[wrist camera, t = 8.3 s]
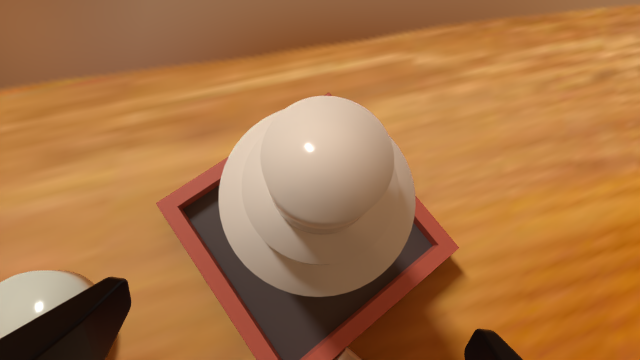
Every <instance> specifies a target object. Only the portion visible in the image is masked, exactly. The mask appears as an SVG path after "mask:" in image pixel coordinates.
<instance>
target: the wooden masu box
mask: <svg viewBox="0 0 640 360" xmlns="http://www.w3.org/2000/svg"><path fill="white" fill-rule="evenodd" d="M332 360H362V359H361V358H360V357H359V356H357V355H356V354H355V353H354V352H353V351H352V350H350V349H349V348H348V347H346V348H345V349H344V350H342V351H341V352H340V353H339V354H338V355H337V356H336V357H334V358H333V359H332Z"/></svg>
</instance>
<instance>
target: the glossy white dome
mask: <svg viewBox="0 0 640 360" xmlns="http://www.w3.org/2000/svg"><path fill="white" fill-rule="evenodd" d="M93 285H94V284H93V283H92V282H91V281H90V280H89V279H87V278H86V277H84V276H82V275H80V274H77V273H74V272H70V271H62V270H52V271H30V272H25V273H21V274H18V275H15V276H12V277H10V278H8V279H6V280H4V281H2V282H0V338H2V337H4V336H5V335H7V334H9V333H11V332H12V331H14V330H16V329H18V328H19V327H21V326H23V325H25V324H26V323H28V322H30V321H32V320H33V319H35V318H37V317H39V316H40V315H42V314H44V313H46V312H47V311H49V310H51V309H53V308H54V307H56V306H58V305H60V304H61V303H63V302H65V301H67V300H68V299H70V298H72V297H74V296H75V295H77V294H79V293H81V292H82V291H84V290H86V289H88V288H89V287H91V286H93Z"/></svg>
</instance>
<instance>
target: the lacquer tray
mask: <svg viewBox="0 0 640 360" xmlns="http://www.w3.org/2000/svg"><path fill="white" fill-rule="evenodd" d="M324 96H332V95H331V94H330V93H327V94H326V95H324ZM227 159H228V157H227V158H226V159H224V160H223V161H221V162H220V163H218V164H216V165H215V166H213V167H212V168H210V169H209V170H207V171H206V172H204V173H202V174H201V175H199V176H198V177H196V178H195V179H193V180H191V181H190V182H188V183H187V184H185V185H184V186H182V187H181V188H179V189H177V190H176V191H174V192H173V193H171V194H170V195H168V196H166V197H165V198H163V199H162V200H160V201H159V202H157V203H156V204H157V206H158V207H159V209H160V211H161V212H162V214H163V215H164V217H165V218H166V220H167V221H168V223H169V225H170V226H171V228H172V229H173V231H174V232H175V234H176V235H177V237H178V239H179V240H180V242H181V243H182V245H183V246H184V248H185V249H186V251H187V252H188V254H189V256H190V257H191V259H192V260H193V262H194V263H195V265H196V266H197V268H198V270H199V271H200V273H201V274H202V276H203V277H204V279H205V280H206V282H207V284H208V285H209V287H210V288H211V290H212V291H213V293H214V294H215V296H216V297H217V299H218V301H219V302H220V304H221V305H222V307H223V308H224V310H225V311H226V313H227V315H228V316H229V318H230V319H231V321H232V322H233V324H234V325H235V327H236V329H237V330H238V332H239V333H240V335H241V336H242V338H243V339H244V341H245V342H246V344H247V346H248V347H249V349H250V350H251V352H252V353H253V355H254V356H255V358H256V360H332V359H333V358H334V357H336V356H337V355H338V354H339V353H340V352H341V351H342V350H344V349H345V348H346V347H347V346H348V345H349V344H350V343H351V342H353V341H354V340H355V339H356V338H357V337H358V336H359V335H361V334H362V333H363V332H364V331H365V330H366V329H367V328H369V327H370V326H371V325H372V324H373V323H374V322H375V321H376V320H378V319H379V318H380V317H381V316H382V315H383V314H384V313H386V312H387V311H388V310H389V309H390V308H391V307H392V306H394V305H395V304H396V303H397V302H398V301H399V300H400V299H402V298H403V297H404V296H405V295H406V294H407V293H408V292H409V291H411V290H412V289H413V288H414V287H415V286H416V285H417V284H419V283H420V282H421V281H422V280H423V279H424V278H425V277H427V276H428V275H429V274H430V273H431V272H432V271H433V270H435V269H436V268H437V267H438V266H439V265H440V264H441V263H442V262H444V261H445V260H446V259H447V258H448V257H449V256H450V255H452V254H453V253H454V252H455V251H456V250H457V249H458V248H459V247H458V246H457V245H456V243H455V242H454V241H453V240H452V239H451V237H450V236H449V235H448V234H447V233H446V231H445V230H444V229H443V228H442V227H441V225H440V224H439V223H438V222H437V221H436V220H435V218H434V217H433V216H432V215H431V214H430V212H429V211H428V210H427V209H426V208H425V206H424V205H423V204H422V203H421V202H420V200H419V199H418V198H417V197H416V196H415V202H416V206H415V216H414V221H413V225H412V229H411V232H410V235H409V237H408V240H407V242H406V244H405V246H404V248H403V249H402V251H401V253H400V254H399V256H398V257H397V258H396V260H395V261H394V262H393V263H392V265H391V266H390V267H389V268H388V269H387V270H386V271H384V272H383V273H382V274H381V275H380V276H378V277H377V278H376V279H374V280H373V281H372V282H370V283H368V284H366V285H364V286H362V287H361V288H358V289H356V290H353V291H350V292H348V293H344V294H339V295H335V296H325V297H312V296H302V295H297V294H292V293H289V292H286V291H283V290H281V289H278V288H276V287H274V286H272V285H270V284H268V283H266V282H265V281H263V280H262V279H260V278H259V277H258V276H256V275H255V274H254V273H253V272H252V271H250V270H249V269H248V268H247V267H246V266H245V265H244V264H243V262H242V261H241V260H240V259H239V258H238V256H237V255H236V254H235V252H234V250H233V249H232V247H231V245H230V244H229V242H228V239H227V237H226V235H225V232H224V230H223V226H222V222H221V219H220V212H219V186H220V180H221V176H222V173H223V169H224V166H225V164H226V162H227Z"/></svg>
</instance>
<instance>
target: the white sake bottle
mask: <svg viewBox="0 0 640 360" xmlns="http://www.w3.org/2000/svg"><path fill="white" fill-rule="evenodd" d="M415 206H416V202H415V188H414V182H413V178H412V175H411V171H410V168H409V166H408V164H407V161H406V159H405V157H404V156H403V154H402V152H401V150H400V149H399V147H398V146H397V145H396V143H395V142H394V141H393V140H392V138H391V137H390V136H389V135H388V133H387V131H386V130H385V128H384V126H383V125H382V124H381V122H380V121H379V120H378V119H377V118H376V117H375V116H374V115H373V114H372V113H371V112H370V111H369V110H367V109H366V108H364V107H363V106H361V105H359V104H357V103H355V102H353V101H351V100H348V99H345V98H340V97H335V96H316V97H310V98H306V99H303V100H300V101H298V102H296V103H294V104H292V105H290V106H288V107H287V108H286V109H283V110H281V111H279V112H276V113H274V114H272V115H270V116H268V117H266V118H264V119H263V120H261V121H260V122H258V123H257V124H256V125H254V126H253V127H252V128H251V129H250V130H249V131H248V132H247V133H245V134H244V135H243V137H242V138H241V139H240V140H239V142H238V143H237V144H236V145H235V147H234V149H233V150H232V152H231V153H230V155H229V157H228V159H227V162H226V164H225V166H224V169H223V173H222V176H221V180H220V186H219V212H220V219H221V222H222V226H223V230H224V232H225V235H226V237H227V239H228V242H229V244H230V245H231V247H232V249H233V250H234V252H235V254H236V255H237V256H238V258H239V259H240V260H241V261H242V262H243V264H244V265H245V266H246V267H247V268H248V269H249V270H250V271H252V272H253V273H254V274H255V275H256V276H258V277H259V278H260V279H262V280H263V281H265V282H266V283H268V284H270V285H272V286H274V287H276V288H278V289H281V290H283V291H286V292H289V293H292V294H297V295H302V296H312V297H325V296H335V295H339V294H344V293H348V292H350V291H353V290H356V289H358V288H361V287H362V286H364V285H366V284H368V283H370V282H372V281H373V280H374V279H376V278H377V277H378V276H380V275H381V274H382V273H383V272H384V271H386V270H387V269H388V268H389V267H390V266H391V265H392V263H393V262H394V261H395V260H396V258H397V257H398V256H399V254H400V253H401V251H402V249H403V248H404V246H405V244H406V242H407V240H408V237H409V235H410V232H411V229H412V225H413V221H414V216H415Z"/></svg>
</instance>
